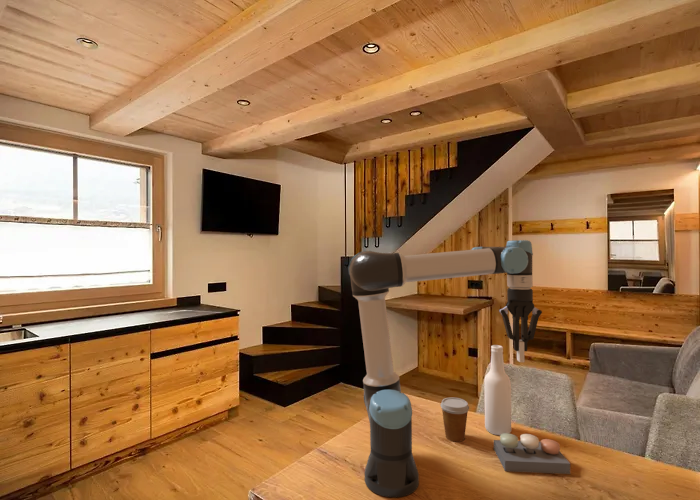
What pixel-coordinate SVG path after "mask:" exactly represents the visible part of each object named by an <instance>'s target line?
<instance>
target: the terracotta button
mask: <svg viewBox="0 0 700 500" xmlns="http://www.w3.org/2000/svg"><path fill="white" fill-rule="evenodd" d="M540 442H541V449H542V450H543V451H544V452H546V454H550V455H554V454H559V453H560V452H561V451H560V450H561V447H560V446H561V445H560V443H559V442H558V441H557V440H553V439H549V438H545V439H543V438H542V439H541V440H540Z"/></svg>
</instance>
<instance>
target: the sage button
mask: <svg viewBox="0 0 700 500" xmlns="http://www.w3.org/2000/svg"><path fill="white" fill-rule="evenodd" d="M499 440H500V443H501V444H502V445H503V446H505V452H506V453H513V448H516V447H518V441H519V438H518V436H517V435H515V434H512V433H503V434H501V435H500V436H499Z"/></svg>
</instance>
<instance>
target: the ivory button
mask: <svg viewBox="0 0 700 500" xmlns="http://www.w3.org/2000/svg"><path fill="white" fill-rule="evenodd" d="M519 437H520V441H521V445H522V446H524V447H526V454H534V449H536V448H538V447H539V442H540V441H539V440H540V439H539V437H537V435H534V434H530V433H522V434H520V436H519Z"/></svg>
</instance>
